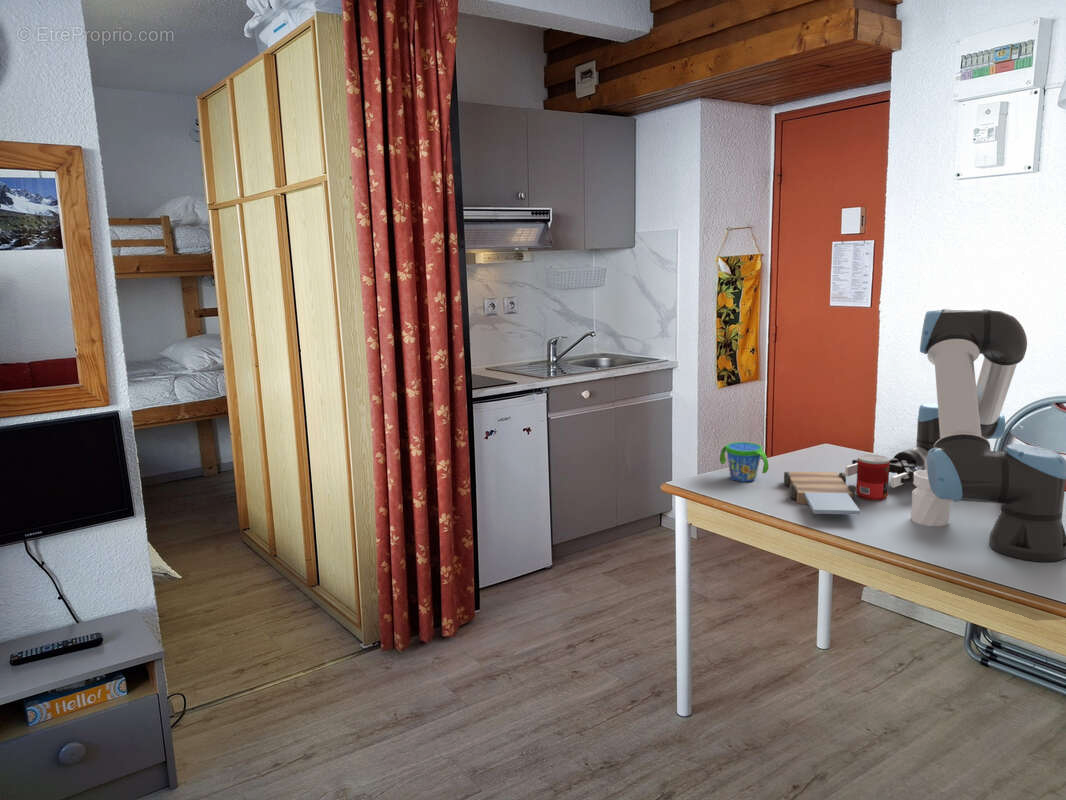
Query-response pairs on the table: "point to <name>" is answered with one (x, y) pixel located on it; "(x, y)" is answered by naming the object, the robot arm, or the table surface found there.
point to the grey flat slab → (831, 503)
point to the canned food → (872, 477)
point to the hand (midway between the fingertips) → (868, 476)
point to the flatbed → (816, 484)
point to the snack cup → (744, 460)
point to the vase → (928, 503)
